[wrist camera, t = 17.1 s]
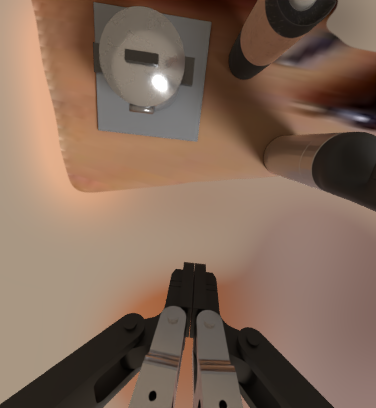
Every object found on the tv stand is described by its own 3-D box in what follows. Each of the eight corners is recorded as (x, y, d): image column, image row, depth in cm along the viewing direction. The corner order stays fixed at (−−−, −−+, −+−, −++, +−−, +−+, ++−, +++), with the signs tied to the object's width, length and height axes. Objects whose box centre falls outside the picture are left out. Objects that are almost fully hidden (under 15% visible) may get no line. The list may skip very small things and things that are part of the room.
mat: (211, 23, 37) (211, 22, 36) (197, 141, 43) (197, 141, 43) (94, 3, 35) (93, 2, 34) (99, 130, 42) (98, 130, 41)
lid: (188, 20, 29) (189, 9, 27) (180, 118, 33) (180, 116, 31) (101, 5, 28) (94, -7, 26) (103, 108, 32) (97, 105, 30)
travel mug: (219, 58, 39) (260, -22, 20) (249, 27, 37) (323, -91, 18) (241, 89, 41) (297, 45, 22) (270, 62, 39) (357, -12, 20)
